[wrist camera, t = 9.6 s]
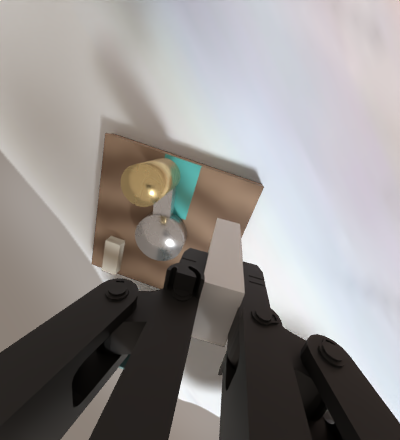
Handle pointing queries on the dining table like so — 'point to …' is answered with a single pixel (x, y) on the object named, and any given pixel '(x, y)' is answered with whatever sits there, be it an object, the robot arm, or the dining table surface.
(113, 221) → the base plate
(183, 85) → the dining table surface
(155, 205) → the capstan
